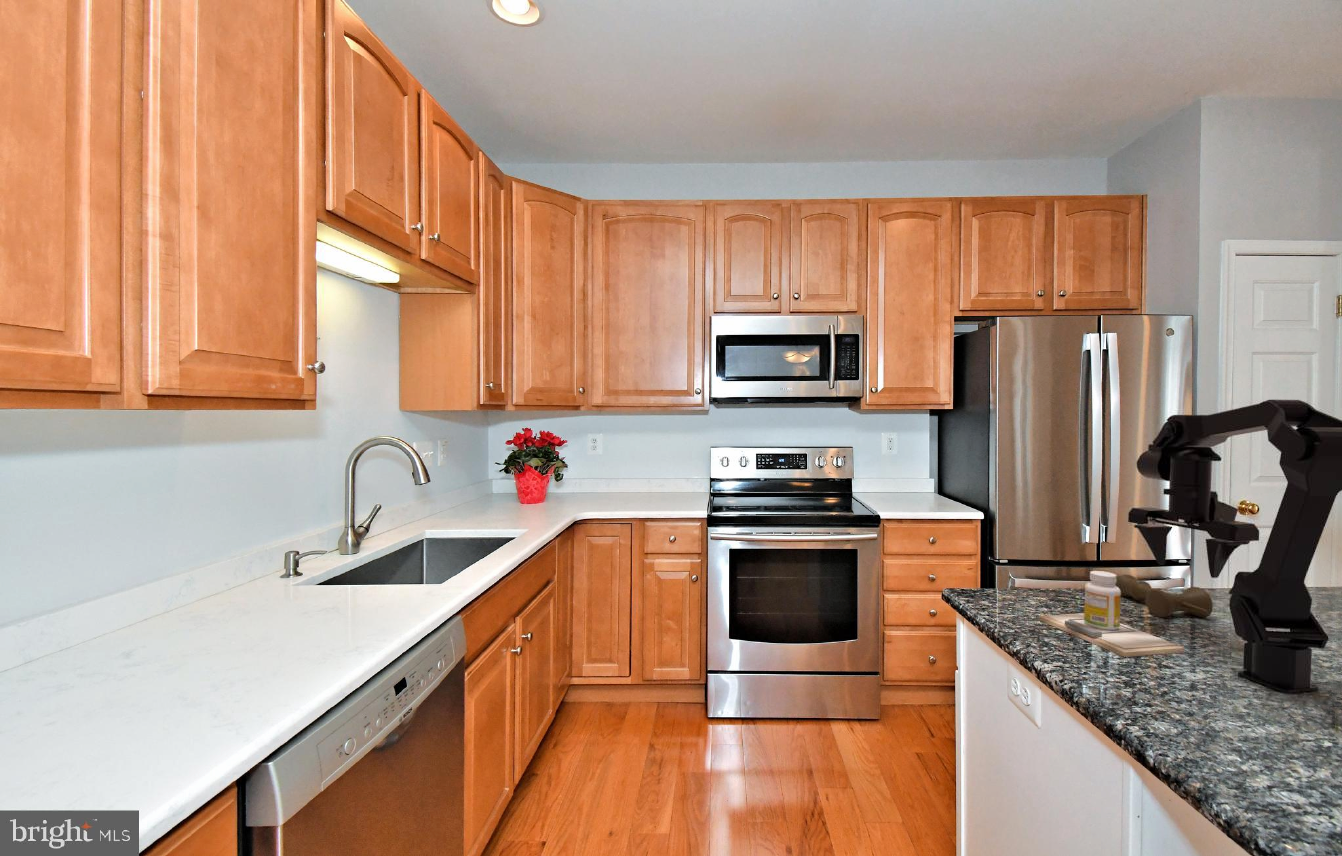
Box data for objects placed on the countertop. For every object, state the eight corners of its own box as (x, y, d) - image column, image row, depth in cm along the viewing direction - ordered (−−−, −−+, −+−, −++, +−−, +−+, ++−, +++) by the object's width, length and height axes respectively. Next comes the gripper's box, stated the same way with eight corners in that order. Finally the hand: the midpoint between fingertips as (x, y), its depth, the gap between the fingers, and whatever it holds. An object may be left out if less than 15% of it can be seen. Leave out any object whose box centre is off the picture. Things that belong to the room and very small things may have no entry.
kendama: (1144, 597, 135) (1232, 627, 115) (1103, 599, 135) (1183, 628, 115) (1144, 571, 135) (1231, 595, 115) (1102, 572, 135) (1183, 597, 115)
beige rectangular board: (1184, 652, 103) (1184, 641, 102) (1124, 656, 100) (1125, 645, 100) (1091, 616, 120) (1091, 607, 120) (1038, 619, 118) (1039, 610, 118)
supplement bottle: (1108, 621, 115) (1109, 570, 114) (1126, 631, 109) (1128, 578, 109) (1077, 619, 115) (1079, 569, 115) (1094, 630, 110) (1096, 576, 110)
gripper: (1286, 490, 102) (1282, 583, 102) (1173, 478, 120) (1170, 557, 120) (1234, 491, 100) (1230, 586, 100) (1126, 479, 118) (1124, 559, 118)
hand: (1186, 570), depth 110 cm, fingers open, 9 cm apart
